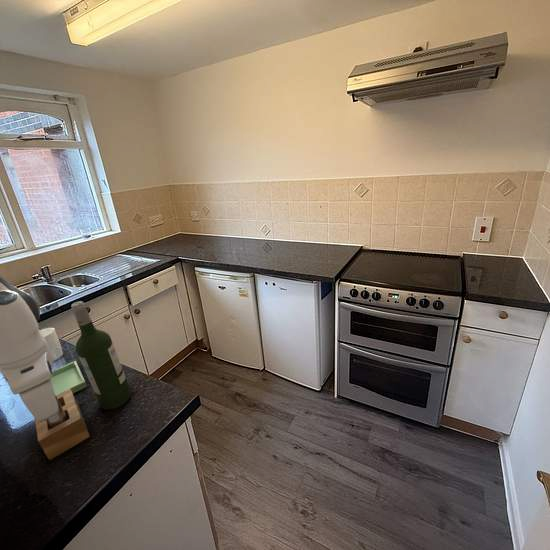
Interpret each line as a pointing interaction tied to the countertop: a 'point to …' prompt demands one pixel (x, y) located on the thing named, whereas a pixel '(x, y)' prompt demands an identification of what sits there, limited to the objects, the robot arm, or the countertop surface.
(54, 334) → the white cup
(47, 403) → the robot arm
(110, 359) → the wine bottle
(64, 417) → the canister
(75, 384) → the tray
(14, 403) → the countertop surface
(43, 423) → the holder
